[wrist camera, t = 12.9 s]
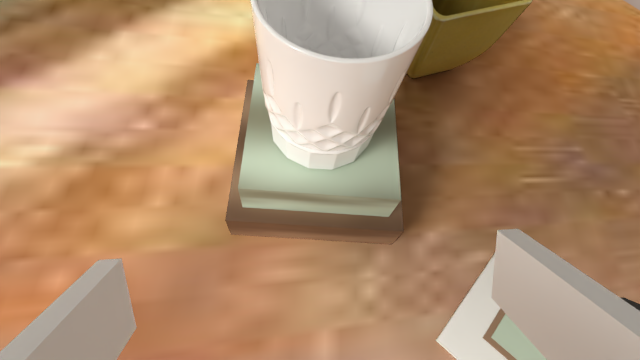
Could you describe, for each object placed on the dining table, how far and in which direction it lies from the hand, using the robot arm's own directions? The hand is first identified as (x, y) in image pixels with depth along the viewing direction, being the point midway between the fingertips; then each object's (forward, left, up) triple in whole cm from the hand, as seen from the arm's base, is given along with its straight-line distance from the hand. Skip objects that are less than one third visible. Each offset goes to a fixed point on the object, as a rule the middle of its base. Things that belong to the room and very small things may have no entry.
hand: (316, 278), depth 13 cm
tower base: (-10, +6, -13) cm, 18 cm away
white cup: (-10, +6, -7) cm, 14 cm away
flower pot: (-16, +22, -14) cm, 30 cm away
